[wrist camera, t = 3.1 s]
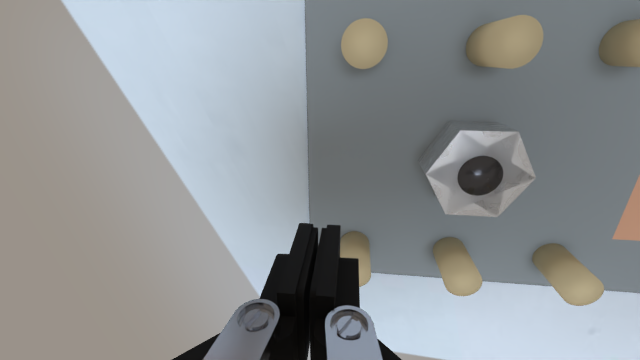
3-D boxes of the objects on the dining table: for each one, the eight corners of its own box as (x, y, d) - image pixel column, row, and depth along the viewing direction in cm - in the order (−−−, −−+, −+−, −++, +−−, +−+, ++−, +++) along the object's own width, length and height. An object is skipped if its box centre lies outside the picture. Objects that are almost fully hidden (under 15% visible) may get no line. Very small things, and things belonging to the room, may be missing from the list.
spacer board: (1049, -24, 16) (1277, -51, 12) (795, 303, 24) (879, 350, 20) (305, -2, 20) (292, -16, 16) (311, 266, 28) (303, 299, 25)
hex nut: (524, 122, 21) (550, 132, 18) (504, 199, 23) (524, 219, 21) (422, 120, 22) (432, 130, 19) (413, 195, 24) (420, 213, 21)
